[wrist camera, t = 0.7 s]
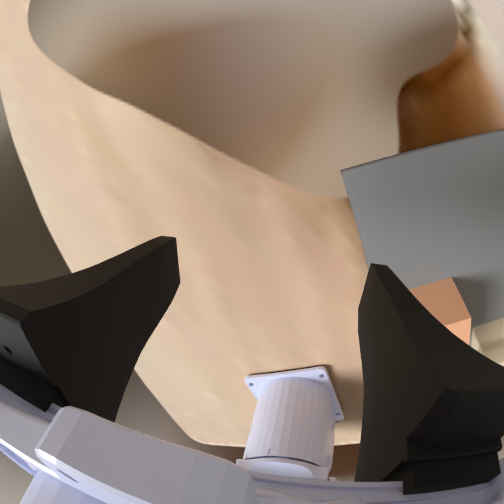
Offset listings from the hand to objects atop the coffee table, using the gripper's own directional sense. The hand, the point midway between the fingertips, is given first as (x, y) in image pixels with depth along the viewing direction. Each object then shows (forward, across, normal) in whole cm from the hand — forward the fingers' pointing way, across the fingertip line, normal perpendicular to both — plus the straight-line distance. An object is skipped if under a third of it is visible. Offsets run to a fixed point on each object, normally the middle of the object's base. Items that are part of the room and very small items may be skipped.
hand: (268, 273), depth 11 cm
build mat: (+10, -16, +5) cm, 19 cm away
